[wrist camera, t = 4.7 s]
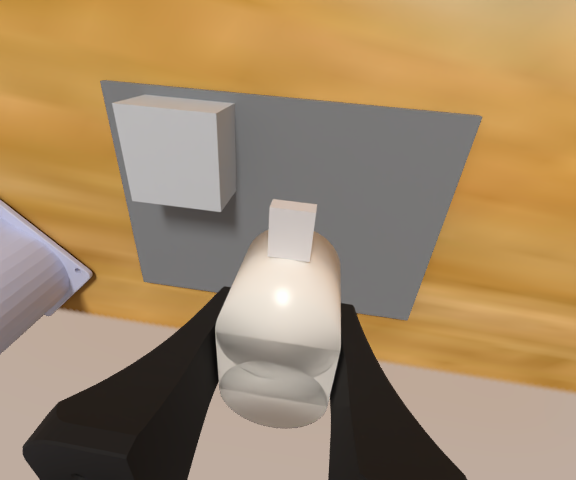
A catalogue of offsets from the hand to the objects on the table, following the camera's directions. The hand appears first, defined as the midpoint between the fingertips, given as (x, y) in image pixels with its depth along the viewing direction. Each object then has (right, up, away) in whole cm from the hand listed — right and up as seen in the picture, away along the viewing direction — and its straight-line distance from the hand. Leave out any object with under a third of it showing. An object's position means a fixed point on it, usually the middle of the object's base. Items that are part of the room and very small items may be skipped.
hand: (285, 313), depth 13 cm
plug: (0, +1, +1) cm, 1 cm away
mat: (-1, +5, +7) cm, 9 cm away
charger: (-5, +8, +5) cm, 11 cm away
